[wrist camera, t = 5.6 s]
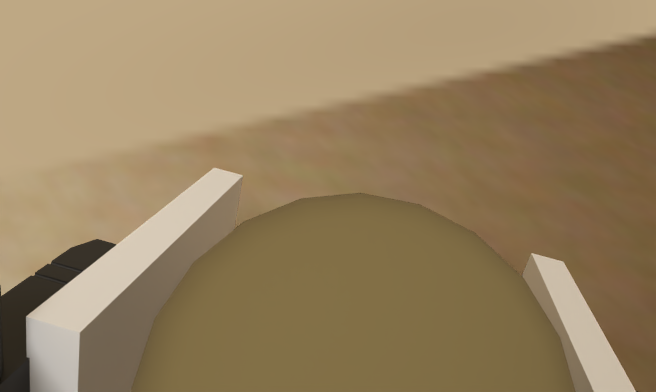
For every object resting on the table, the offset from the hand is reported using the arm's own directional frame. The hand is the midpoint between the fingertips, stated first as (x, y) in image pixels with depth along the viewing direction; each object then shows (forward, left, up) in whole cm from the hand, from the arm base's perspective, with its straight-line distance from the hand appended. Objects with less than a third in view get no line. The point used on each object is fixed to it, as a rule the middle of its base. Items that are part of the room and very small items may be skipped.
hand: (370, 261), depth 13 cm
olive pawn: (-2, +3, -4) cm, 5 cm away
